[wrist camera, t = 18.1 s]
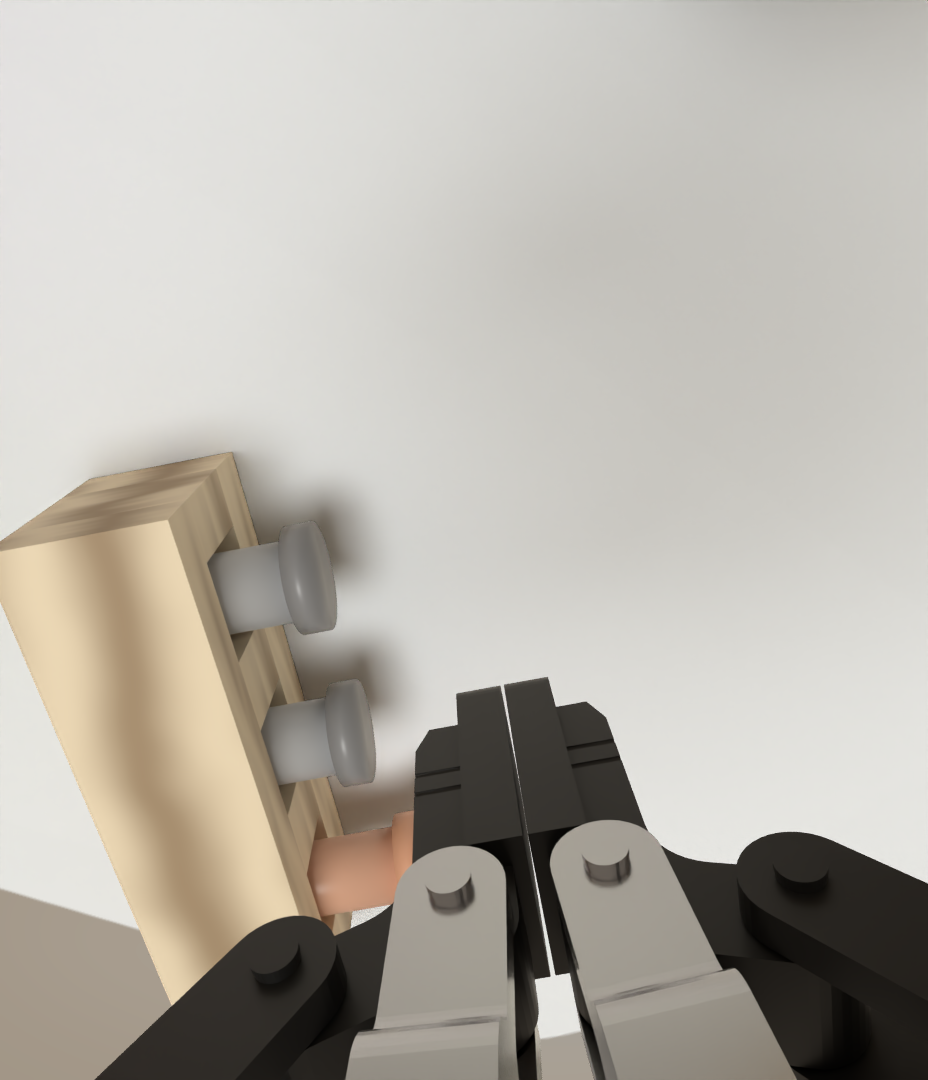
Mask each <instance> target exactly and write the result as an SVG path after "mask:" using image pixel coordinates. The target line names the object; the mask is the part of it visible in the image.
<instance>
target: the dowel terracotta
mask: <svg viewBox="0 0 928 1080" xmlns="http://www.w3.org/2000/svg"><path fill="white" fill-rule="evenodd" d="M413 822H414V810H412V811H406V812H400V813H395V814H394V816H393V821H392V827H387V828H381V829H375V830H370V831H364V832H358V833H353V834H347V835H342V836H336V837H330V838H325V839H319V840H313V845H312V850H311V855H310V860H309V865H308V871H307V877H308V880H309V883H310V886H311V889H312V893H313V896H314V899H315V902H316V905H317V908H318V911H319V914H320V917H322V916H328V915H334V914H339V913H345V912H351V911H357V910H362V909H368V908H374V907H379V906H385V905H391V904H392V903H393V902H394V897H395V892H396V888H397V885H398V882H399V880H400V878H401V877H402V875H403V874H404V873H405V871H406V870H407V869H408V868H409V867H410V866H411V865H412V853H413Z"/></svg>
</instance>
